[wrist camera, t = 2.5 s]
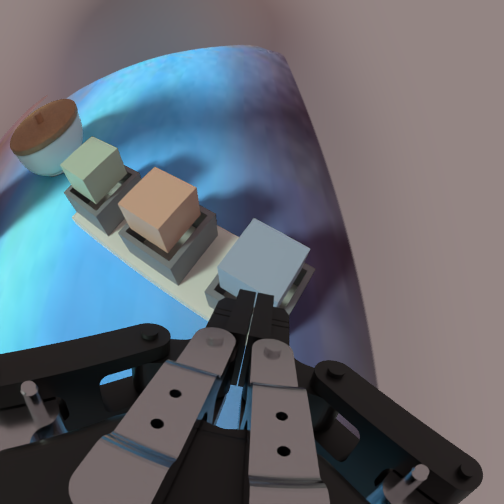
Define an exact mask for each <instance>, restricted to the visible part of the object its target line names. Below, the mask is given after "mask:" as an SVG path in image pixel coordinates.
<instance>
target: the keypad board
mask: <svg viewBox="0 0 504 504" xmlns="http://www.w3.org/2000/svg"><path fill="white" fill-rule="evenodd" d="M124 167H125V169H126V172H127V174H126V175H125V176H124V177H123V178H122V179H121V180H120V181H119V182H118V183H117V184H116V185H115V186H114V187H113V188H112V189H111V190H110V191H109V192H108V193H107V194H106V195H105V196H104V197H103V198H102V199H101V200H100V201H99V202H98V203H97V204H95V203H94V202H92V201H91V200H90V199H88V198H87V197H85V196H84V195H83V194H81V193H80V192H78V191H77V190H76V189H74V188H73V187H72V185H71V186H70V187H69V188H68V189H67V190H66V191H65V192H64V194H65V195H66V197H67V198H68V200H69V201H70V203H71V204H72V206H73V207H74V209H75V210H76V213H75V215H74V216H73V217H72V219H73V220H74V221H75V223H76V224H77V225H78V226H79V227H80V228H81V229H83V230H84V231H85V232H86V233H88V234H89V235H90V236H91V237H92V238H94V239H95V240H96V241H97V242H99V243H100V244H101V245H102V246H104V247H105V248H106V249H108V250H109V251H110V252H111V253H113V254H114V255H115V256H117V257H118V258H119V259H120V260H122V261H123V262H124V263H126V264H127V265H128V266H130V267H131V268H132V269H134V270H135V271H136V272H138V273H139V274H140V275H142V276H143V277H145V278H146V279H147V280H149V281H150V282H151V283H153V284H154V285H156V286H157V287H158V288H160V289H161V290H163V291H164V292H166V293H167V294H168V295H170V296H171V297H173V298H174V299H176V300H177V301H178V302H180V303H181V304H183V305H184V306H186V307H187V308H189V309H190V310H192V311H193V312H195V313H196V314H198V315H199V316H201V317H202V318H204V319H205V320H207V321H208V322H209V319H210V317H211V315H212V313H213V311H214V309H215V307H216V305H217V303H218V301H220V300H221V299H223V298H225V297H228V298H232V299H236V298H237V297H236V296H234V295H232V294H231V293H229V292H227V291H226V290H224V289H223V288H221V287H220V282H219V276H218V269H217V266H218V265H219V264H220V262H221V261H222V260H223V258H224V257H225V256H226V254H227V253H228V252H229V250H230V249H231V248H232V246H233V245H234V244H235V242H236V241H237V240H238V238H239V237H238V236H236V235H234V234H232V233H230V232H229V231H227V230H225V229H223V228H221V227H220V226H218V225H217V220H216V214H215V213H213V212H211V211H210V210H208V209H206V208H204V207H202V206H200V205H199V207H200V213H201V215H200V216H199V217H198V218H197V219H196V221H195V222H194V223H193V224H192V225H191V226H190V228H189V229H188V230H187V231H186V232H185V233H184V235H183V236H182V237H181V238H180V239H179V241H178V242H177V243H176V244H175V245H174V247H173V248H172V249H171V250H170V251H169V253H167V252H165V251H164V250H162V249H161V248H159V247H158V246H156V245H155V244H153V243H152V242H150V241H149V240H147V239H146V238H144V237H143V236H141V235H140V234H138V233H137V232H135V231H134V230H132V229H131V228H130V227H129V225H128V223H127V221H126V219H125V217H124V215H123V213H122V211H121V210H120V208H119V206H118V203H119V202H120V201H121V199H122V198H123V197H124V196H125V195H126V194H127V193H128V192H129V191H130V190H131V189H132V188H133V187H134V186H135V185H136V184H137V183H138V182H139V181H140V180H141V176H140V173H138V172H137V171H135V170H133V169H131V168H129V167H127V166H125V165H124ZM314 271H315V268H313V267H311V266H309V265H308V264H306V263H304V264H303V267H302V269H301V271H300V273H299V274H298V276H297V278H296V279H295V281H294V283H293V284H292V286H291V288H290V289H289V291H288V293H287V294H286V296H285V298H284V299H283V301H282V303H281V304H280V306H279V307H278V308H283V309H285V310H286V312H287V313H288V315H290V313H291V311H292V310H293V308H294V306H295V304H296V303H297V301H298V299H299V298H300V296H301V294H302V292H303V291H304V289H305V287H306V285H307V284H308V282H309V280H310V278H311V276H312V275H313V273H314ZM253 312H254V307H253ZM253 312H252V317H253ZM252 317H251V321H252ZM250 325H251V322H250ZM249 330H250V327H249ZM248 334H249V332H248ZM247 339H248V337H247ZM246 344H247V341H246Z"/></svg>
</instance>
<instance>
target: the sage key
mask: <svg viewBox="0 0 504 504" xmlns="http://www.w3.org/2000/svg"><path fill="white" fill-rule="evenodd" d="M60 166H61V168H62V170H63V171H64V173H65V175H66V177H67V178H68V180H69V182H70V183H71V185H72V187H73V188H74V189H76V190H77V191H78V192H80V193H81V194H83V195H84V196H85V197H87V198H88V199H90V200H91V201H92V202H94V203H95V204H97V203H98V202H99V201H100V200H101V199H102V198H103V197H104V196H105V195H106V194H107V193H108V192H109V191H110V190H111V189H112V188H113V187H114V186H115V185H116V184H117V183H118V182H119V181H120V180H121V179H122V178H123V177H124V176H125V175H126V174H127V172H126V169H125V167H124V164H123V162H122V159H121V156H120V154H119V151H118V148H116V147H114V146H112V145H110V144H108V143H105V142H103V141H101V140H99V139H97V138H95V137H93V136H92V137H90V138H89V139H88V140H87V141H86V142H85V143H83V144H82V145H81V146H80V147H79V148H78V149H77V150H75V151H74V152H73V153H72V154H71V155H70V156H69V157H68V158H67V159H66V160H64V161H63V162H62V163H61V164H60Z"/></svg>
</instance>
